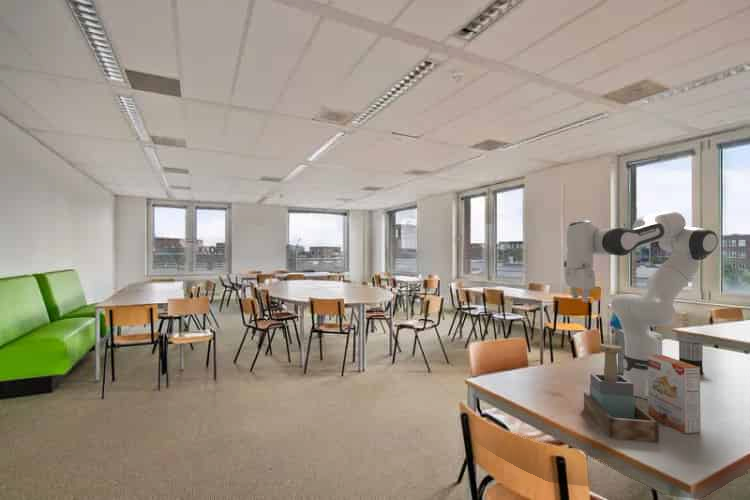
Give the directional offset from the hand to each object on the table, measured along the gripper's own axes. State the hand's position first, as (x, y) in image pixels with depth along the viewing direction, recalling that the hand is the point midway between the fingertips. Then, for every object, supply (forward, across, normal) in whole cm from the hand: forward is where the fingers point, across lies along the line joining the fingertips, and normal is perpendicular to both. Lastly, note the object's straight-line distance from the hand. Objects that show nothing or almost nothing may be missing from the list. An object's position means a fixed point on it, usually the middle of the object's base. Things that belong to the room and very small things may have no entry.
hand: (579, 299), depth 140 cm
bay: (+38, -18, -5) cm, 43 cm away
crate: (+37, -13, -5) cm, 40 cm away
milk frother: (+39, +51, -62) cm, 89 cm away
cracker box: (+39, -14, -23) cm, 47 cm away
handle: (+29, -13, -5) cm, 32 cm away
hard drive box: (+39, +38, -38) cm, 67 cm away
